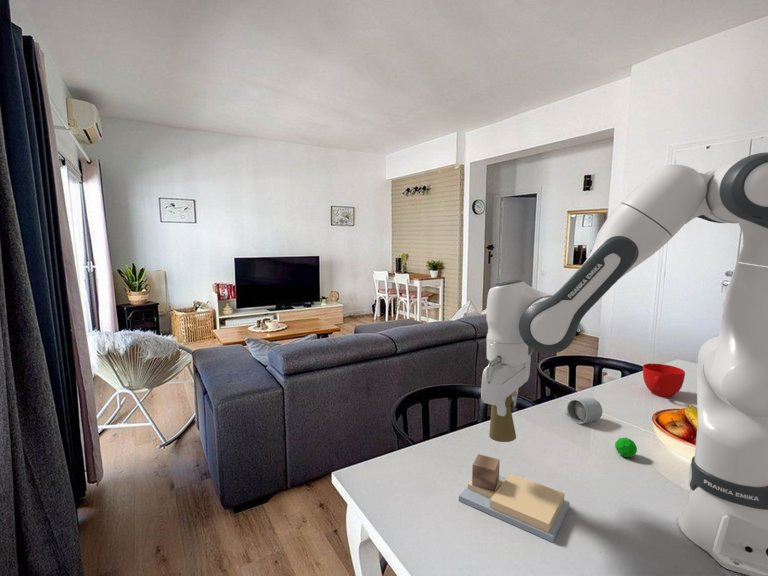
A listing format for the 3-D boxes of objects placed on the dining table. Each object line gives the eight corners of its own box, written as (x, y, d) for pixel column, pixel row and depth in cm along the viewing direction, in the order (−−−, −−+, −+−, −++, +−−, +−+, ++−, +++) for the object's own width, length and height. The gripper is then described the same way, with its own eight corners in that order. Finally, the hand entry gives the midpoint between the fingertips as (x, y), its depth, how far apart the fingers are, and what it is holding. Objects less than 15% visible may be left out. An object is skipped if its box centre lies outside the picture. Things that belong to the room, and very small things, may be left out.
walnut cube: (499, 479, 91) (499, 459, 90) (494, 491, 86) (495, 470, 86) (477, 473, 93) (478, 454, 92) (472, 485, 88) (472, 464, 88)
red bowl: (633, 396, 146) (635, 370, 145) (646, 385, 157) (648, 361, 156) (675, 406, 136) (678, 379, 135) (686, 394, 148) (688, 368, 146)
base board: (569, 506, 85) (569, 493, 84) (552, 542, 75) (553, 528, 74) (482, 473, 97) (483, 462, 97) (458, 500, 87) (458, 488, 86)
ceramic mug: (604, 423, 124) (605, 399, 124) (586, 428, 121) (587, 404, 120) (575, 410, 134) (576, 389, 133) (558, 415, 130) (559, 393, 130)
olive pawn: (518, 442, 87) (515, 394, 86) (490, 442, 88) (487, 394, 87) (514, 430, 93) (511, 385, 92) (488, 430, 94) (485, 386, 93)
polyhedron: (636, 454, 106) (637, 437, 105) (636, 462, 102) (637, 445, 101) (615, 449, 109) (616, 432, 108) (614, 457, 104) (615, 440, 104)
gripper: (502, 365, 78) (502, 431, 79) (535, 344, 94) (534, 399, 95) (473, 360, 82) (473, 423, 83) (509, 341, 98) (509, 394, 99)
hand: (506, 410), depth 89 cm, fingers closed on olive pawn, 4 cm apart
